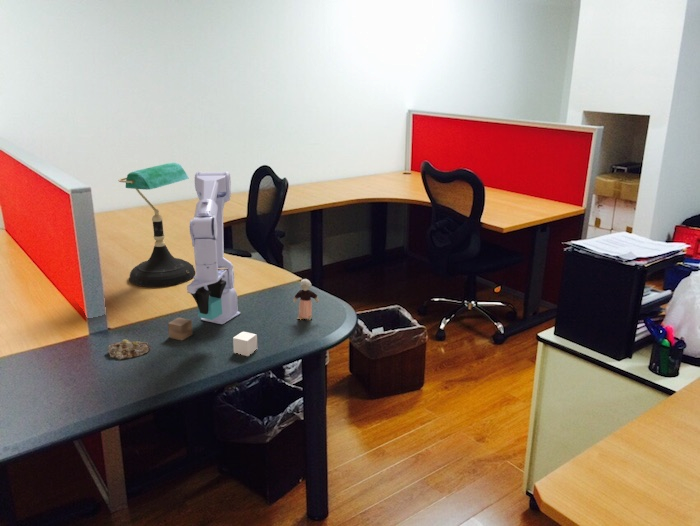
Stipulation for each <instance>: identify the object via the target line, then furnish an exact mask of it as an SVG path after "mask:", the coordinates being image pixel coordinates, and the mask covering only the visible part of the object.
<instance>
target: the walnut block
mask: <svg viewBox="0 0 700 526" xmlns="http://www.w3.org/2000/svg"><path fill="white" fill-rule="evenodd" d="M167 327H168V337H169V338H170V339H174V340H178V341H183V340H185V339H187V338H189V337H190V336H193V324H192V319H189V318H183V317H176V318H174V319H173V320H171V321H169V322H167Z"/></svg>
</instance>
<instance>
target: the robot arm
mask: <svg viewBox="0 0 700 526" xmlns="http://www.w3.org/2000/svg"><path fill="white" fill-rule="evenodd" d="M231 185H232V180H231V174H230V172H229V171H228V170H226V171H196V173H195V174H194V188H195V191H196V195H197V198H198V199H199V200H198V201H197V203H196V206H195V210H194V216H193V219H190V220H189V234H190V238H191V239H190V240H191V245H192V247H193V254H194V268H195V273H196V274H195V276H194V277H193V280H192V281H191V282H190V283H189V284H187V285H186V290H187V294H190V295H191V297H192V298H193V299H194V301H195V302H196V305H198V306H197V309H198V308H199V311H200V313H202V314H208V301H209V296H210V297H216V298H221V303H222V314H221V315H220V316H218V317H216V318H215V319H213V320H210V319H205V318H200V320H201V321H205V322H210V323H214V324H218V325H223V324H225V323H227V322H229V321H231V320H232V319H234V318H235V317H237V316H239V315H240V314H241V311H239V307H238V294H237V290H236V289H235V288H234V287H235V271H234V265H233V263H232V262H231V261H230V260H228V259H227V258H225V257H224V254H225V252H224V251H225V250H224V248H225V247H224V246H225V245H224V241H225V240H224V208H225V204H226V203H227V202H229V201H230V200H231V197H232V196H231V194H232V191H231V190H232V186H231Z"/></svg>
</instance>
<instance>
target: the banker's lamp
mask: <svg viewBox="0 0 700 526" xmlns="http://www.w3.org/2000/svg"><path fill="white" fill-rule="evenodd" d="M188 179H189V176H188V174H187V172H186V171H185V169H184V168H183V166H182V165H181V164H179V163H176V162H168V163H164V164H159V165H154V166H151V167H146V168H143V169H137V170H134V171H131V172H129V173H128V174H127V176H126V177H123V178H120V179H118V182H119V183H125V188H126V189H133V190H135V191H136V192H137V193H138V195H140V196H141V198H142V199H143V200H144V201H145V202H146V203H147V204H148V205H149V206H150V208H151V209H153V211H154V212H153V213H154V215H153V216H152V218H151V222H152V230H153V238H154V240H155V242H154V246H153V250H152V252H151V255H150V256H149V258H148V260H145V261H142V262H140V263H139V264H137V265H136V266H134V267H133V268H132V269H131V271H130V273H129V281H130V283H132V284H134V285H136V286H138V287H144V288H145V287H146V288H160V287H161V288H163V287H171V286H176V285H180V284H183V283H186V282H188V281H190V280H192V279H194V276H196V268H195V266H194V265H193V264H192V263H190V262H188V261H186V260H184V259H182V258H180V257H179V258H178V257H175V256H173V255H172V253H171V252H170V251H169V249H168V247H167V246H166V242H165V241H164V239H165V235H164V234H165V233H164V224H163V221H164V219H163V216H162V215H160V212H159V211H160V210H159V209H157V208H156V207H155V206H154V205H152V203H151V202H150V201H149V200H148V198H147V197H146V196H145V195H144V194H143V193H142V192H141V191H140V190H146V191H147V190H154V189H159V188H162V187H164V186H168V185H171V184H175V183H178V182H182V181H185V180H188Z"/></svg>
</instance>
